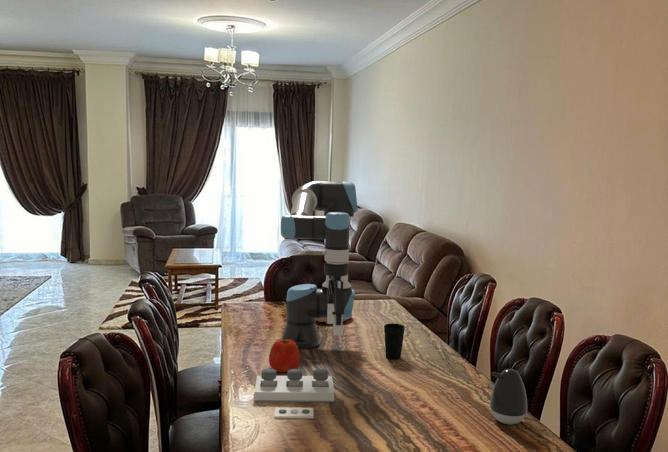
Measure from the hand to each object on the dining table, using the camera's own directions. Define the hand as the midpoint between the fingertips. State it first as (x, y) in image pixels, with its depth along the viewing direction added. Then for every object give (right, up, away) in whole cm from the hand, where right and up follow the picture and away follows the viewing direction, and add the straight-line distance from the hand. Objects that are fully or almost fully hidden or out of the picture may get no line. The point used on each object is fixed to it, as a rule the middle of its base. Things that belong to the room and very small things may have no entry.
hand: (334, 329), depth 188 cm
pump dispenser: (+49, -23, -17) cm, 57 cm away
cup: (+22, -17, +36) cm, 46 cm away
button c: (-20, -17, -2) cm, 27 cm away
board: (-13, -20, -1) cm, 23 cm away
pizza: (-3, -11, +90) cm, 91 cm away
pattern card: (-12, -21, -16) cm, 29 cm away
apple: (-17, -18, +21) cm, 32 cm away
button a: (-4, -18, -1) cm, 18 cm away
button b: (-12, -18, -1) cm, 22 cm away
